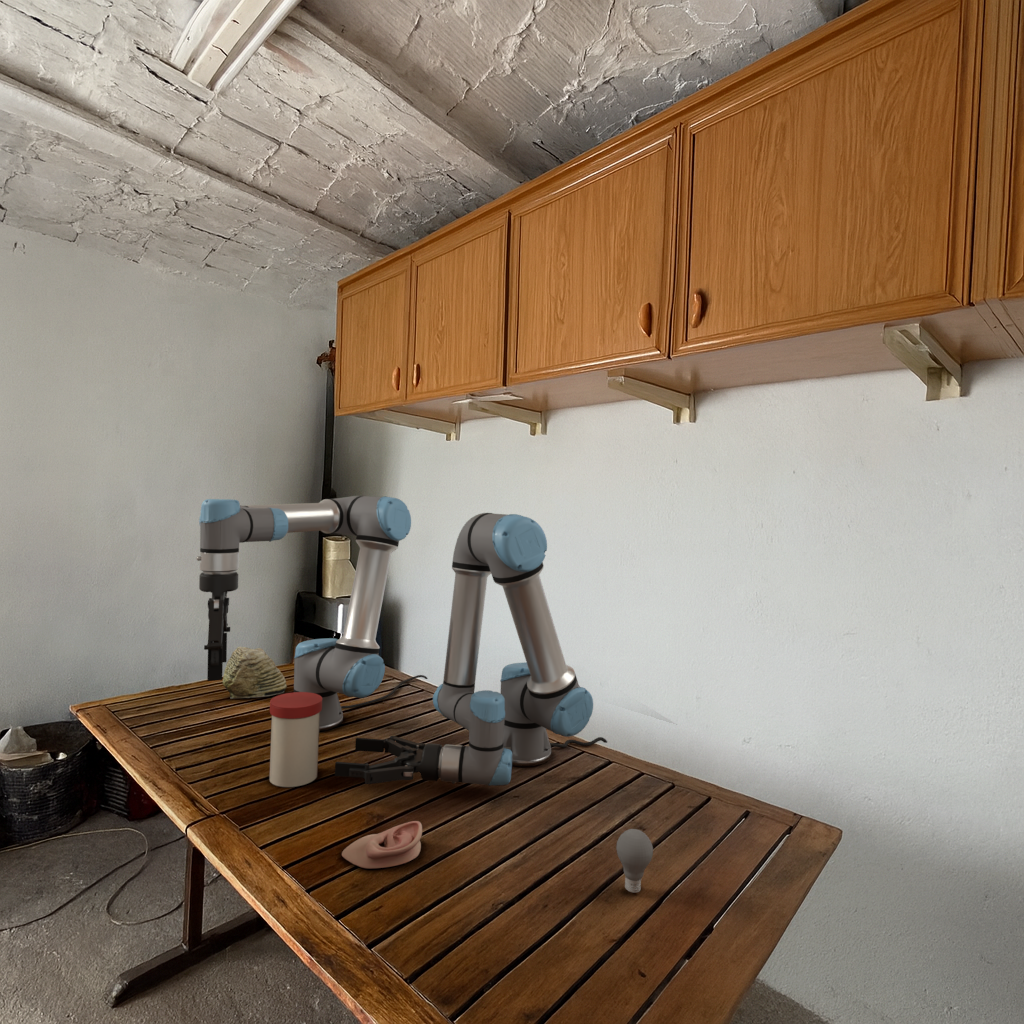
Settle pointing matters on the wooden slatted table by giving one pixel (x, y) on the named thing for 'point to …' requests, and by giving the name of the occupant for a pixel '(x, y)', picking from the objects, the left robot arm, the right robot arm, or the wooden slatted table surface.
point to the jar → (294, 750)
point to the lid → (295, 705)
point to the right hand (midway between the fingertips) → (346, 755)
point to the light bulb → (634, 857)
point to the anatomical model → (386, 847)
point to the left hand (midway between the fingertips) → (217, 670)
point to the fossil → (252, 674)
